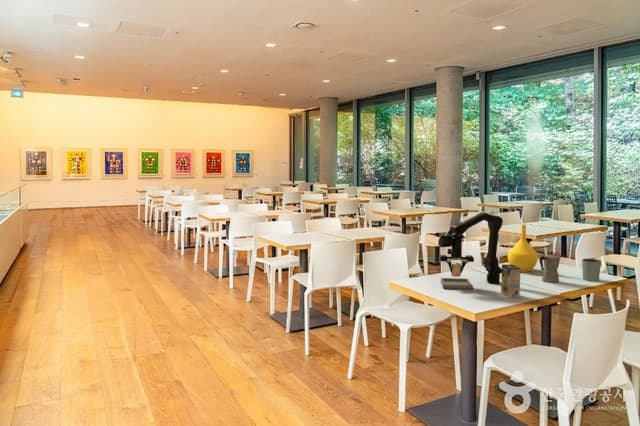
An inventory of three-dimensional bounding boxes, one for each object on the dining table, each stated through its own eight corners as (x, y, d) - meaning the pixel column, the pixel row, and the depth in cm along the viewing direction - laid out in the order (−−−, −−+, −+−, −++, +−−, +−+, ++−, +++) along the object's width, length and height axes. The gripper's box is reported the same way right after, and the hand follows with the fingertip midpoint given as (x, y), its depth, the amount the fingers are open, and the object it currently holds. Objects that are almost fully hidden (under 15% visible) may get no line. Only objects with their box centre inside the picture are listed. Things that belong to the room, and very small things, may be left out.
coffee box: (500, 293, 269) (501, 264, 267) (511, 293, 269) (512, 264, 268) (508, 298, 260) (509, 268, 258) (520, 297, 260) (521, 267, 259)
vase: (543, 272, 317) (545, 226, 314) (518, 274, 313) (520, 227, 309) (525, 266, 334) (527, 222, 331) (501, 268, 330) (502, 223, 327)
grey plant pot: (604, 281, 294) (605, 261, 292) (590, 282, 291) (591, 262, 289) (590, 277, 303) (591, 258, 302) (577, 278, 300) (578, 259, 299)
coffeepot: (552, 278, 301) (554, 249, 299) (565, 282, 292) (566, 252, 290) (532, 280, 296) (534, 251, 294) (544, 284, 287) (546, 254, 285)
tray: (467, 282, 293) (467, 278, 292) (471, 289, 277) (471, 285, 277) (440, 282, 295) (440, 278, 294) (443, 288, 279) (443, 284, 279)
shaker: (460, 274, 287) (460, 262, 287) (461, 276, 282) (461, 264, 282) (451, 274, 288) (451, 262, 287) (452, 276, 283) (452, 264, 282)
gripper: (471, 244, 290) (470, 270, 292) (438, 243, 293) (438, 269, 294) (474, 247, 279) (473, 274, 281) (440, 247, 282) (440, 274, 283)
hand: (456, 273), depth 285 cm, fingers closed on shaker, 5 cm apart
